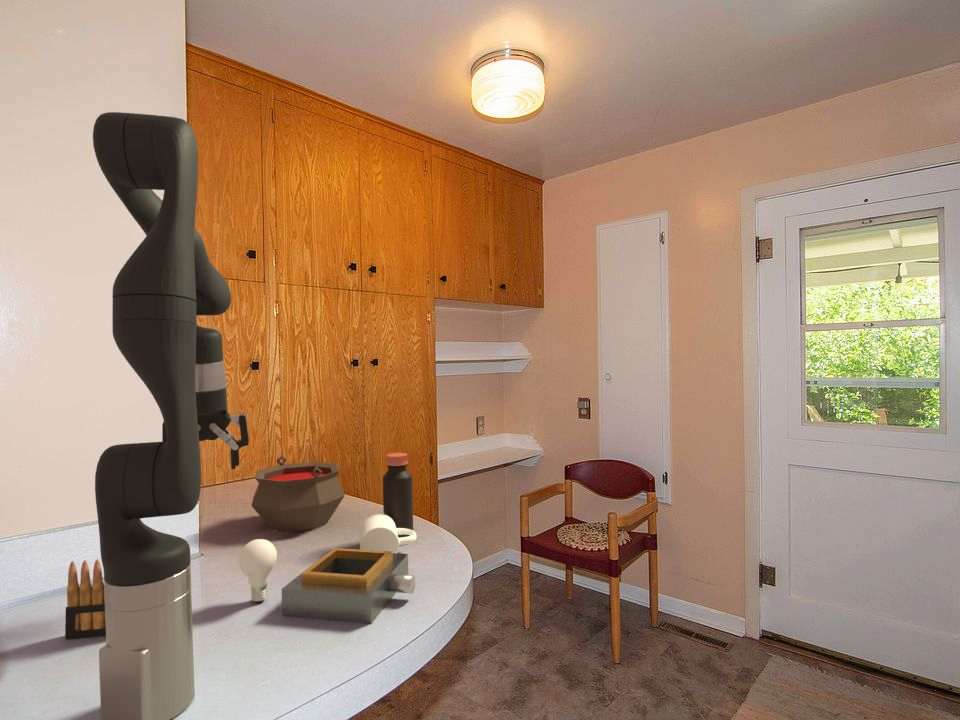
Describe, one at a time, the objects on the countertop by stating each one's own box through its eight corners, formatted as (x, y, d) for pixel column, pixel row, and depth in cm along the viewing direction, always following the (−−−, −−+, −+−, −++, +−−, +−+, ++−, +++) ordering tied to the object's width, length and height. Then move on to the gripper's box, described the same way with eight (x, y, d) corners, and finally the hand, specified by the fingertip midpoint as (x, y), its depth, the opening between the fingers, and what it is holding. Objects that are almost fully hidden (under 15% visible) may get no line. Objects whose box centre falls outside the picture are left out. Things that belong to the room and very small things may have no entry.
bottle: (416, 542, 124) (415, 455, 123) (387, 547, 121) (385, 458, 121) (409, 533, 130) (407, 450, 129) (381, 537, 127) (379, 453, 127)
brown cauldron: (364, 522, 139) (363, 459, 138) (271, 547, 123) (269, 476, 122) (322, 504, 156) (320, 448, 156) (235, 523, 140) (233, 461, 140)
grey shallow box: (394, 625, 87) (393, 588, 87) (282, 615, 91) (281, 580, 91) (428, 578, 104) (427, 547, 104) (332, 571, 108) (331, 542, 108)
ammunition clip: (144, 627, 88) (141, 554, 88) (138, 633, 86) (136, 558, 86) (71, 633, 86) (69, 559, 86) (64, 640, 84) (62, 563, 84)
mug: (360, 567, 110) (359, 528, 110) (360, 550, 120) (359, 514, 120) (419, 561, 113) (418, 523, 113) (414, 544, 123) (413, 509, 123)
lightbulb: (264, 611, 92) (263, 547, 92) (231, 608, 94) (230, 545, 93) (285, 594, 99) (283, 534, 98) (254, 592, 100) (252, 533, 100)
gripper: (155, 392, 93) (162, 482, 95) (245, 387, 98) (249, 472, 101) (162, 384, 100) (168, 469, 102) (246, 380, 105) (250, 460, 108)
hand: (208, 470), depth 101 cm, fingers open, 8 cm apart
